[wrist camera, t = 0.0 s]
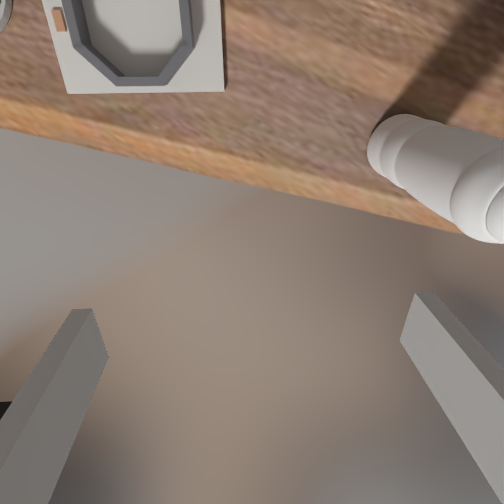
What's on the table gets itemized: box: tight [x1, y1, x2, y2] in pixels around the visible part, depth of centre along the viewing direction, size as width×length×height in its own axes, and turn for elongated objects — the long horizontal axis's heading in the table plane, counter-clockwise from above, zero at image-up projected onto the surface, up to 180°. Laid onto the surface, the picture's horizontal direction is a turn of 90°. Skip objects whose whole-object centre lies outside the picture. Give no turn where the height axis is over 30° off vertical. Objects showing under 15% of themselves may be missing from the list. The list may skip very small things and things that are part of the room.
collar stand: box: [42, 0, 224, 94], centre depth 29 cm, size 12×16×3 cm
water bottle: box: [367, 114, 504, 244], centre depth 27 cm, size 7×7×25 cm
